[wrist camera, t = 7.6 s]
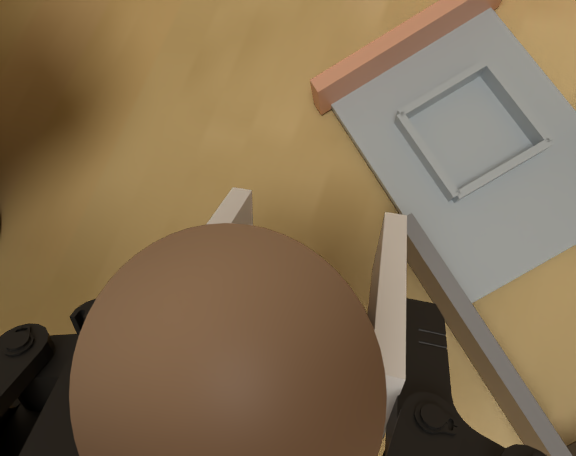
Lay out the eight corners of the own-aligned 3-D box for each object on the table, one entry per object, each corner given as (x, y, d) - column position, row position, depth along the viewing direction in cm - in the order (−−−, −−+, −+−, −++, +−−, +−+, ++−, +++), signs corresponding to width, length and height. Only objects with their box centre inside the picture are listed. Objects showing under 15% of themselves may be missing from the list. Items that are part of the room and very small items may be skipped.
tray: (314, 104, 34) (309, 80, 30) (489, -3, 33) (508, -43, 29) (449, 313, 29) (464, 317, 26) (654, 197, 29) (702, 183, 25)
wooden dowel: (231, 300, 18) (26, 316, 7) (324, 247, 18) (283, 167, 6) (281, 401, 17) (144, 633, 6) (381, 347, 17) (457, 470, 5)
